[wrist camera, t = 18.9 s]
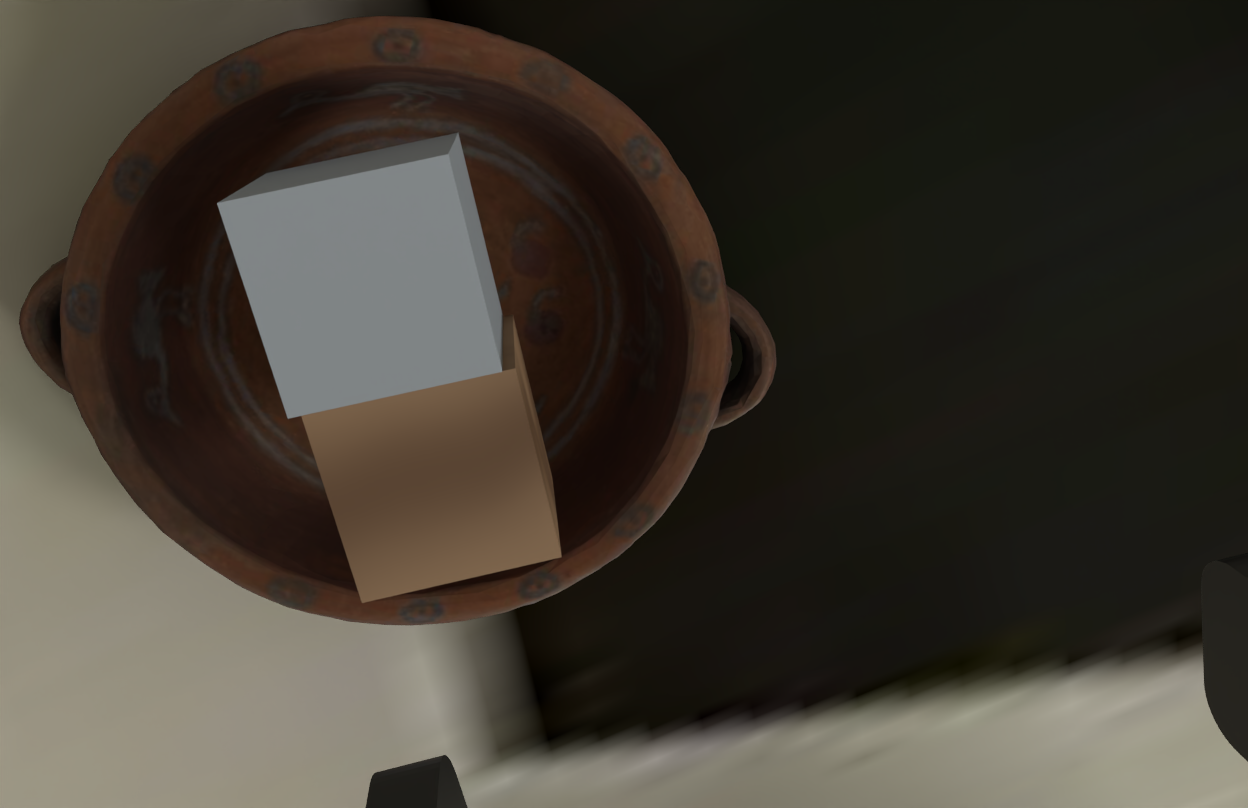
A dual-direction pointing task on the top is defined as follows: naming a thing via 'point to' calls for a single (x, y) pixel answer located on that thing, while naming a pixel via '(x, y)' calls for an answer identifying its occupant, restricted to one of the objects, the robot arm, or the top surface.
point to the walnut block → (439, 480)
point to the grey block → (368, 275)
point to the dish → (523, 274)
